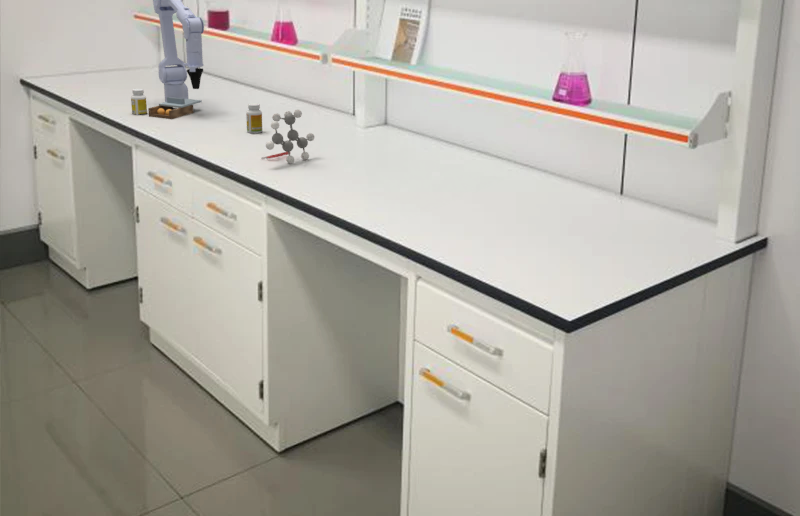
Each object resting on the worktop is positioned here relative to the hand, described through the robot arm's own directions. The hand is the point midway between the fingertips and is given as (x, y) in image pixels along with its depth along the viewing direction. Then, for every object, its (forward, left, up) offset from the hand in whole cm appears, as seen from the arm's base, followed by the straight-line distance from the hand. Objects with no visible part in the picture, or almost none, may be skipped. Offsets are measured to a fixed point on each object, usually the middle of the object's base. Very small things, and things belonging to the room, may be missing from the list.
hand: (196, 88), depth 333 cm
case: (+5, -8, -10) cm, 14 cm away
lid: (-1, -8, -6) cm, 10 cm away
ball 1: (+9, -10, -10) cm, 16 cm away
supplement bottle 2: (+13, +32, -11) cm, 36 cm away
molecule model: (+44, +60, -11) cm, 75 cm away
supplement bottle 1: (+9, -19, -11) cm, 24 cm away
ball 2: (+9, -6, -10) cm, 14 cm away
